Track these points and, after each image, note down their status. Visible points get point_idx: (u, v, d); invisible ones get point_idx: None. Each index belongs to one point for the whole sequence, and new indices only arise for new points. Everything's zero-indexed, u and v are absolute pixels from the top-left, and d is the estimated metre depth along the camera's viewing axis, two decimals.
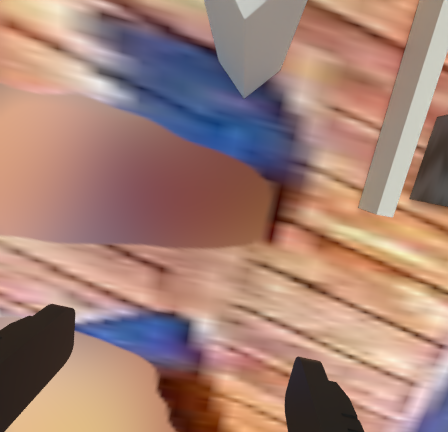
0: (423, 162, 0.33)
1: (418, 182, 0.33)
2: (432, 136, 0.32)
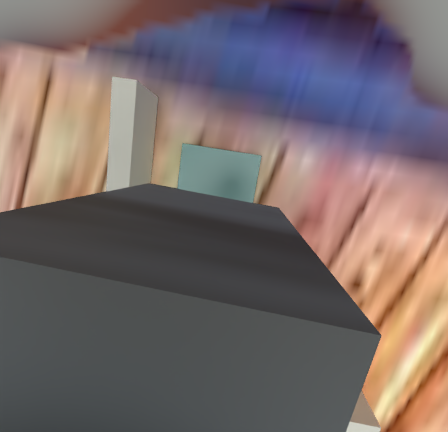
0: None
1: None
2: None
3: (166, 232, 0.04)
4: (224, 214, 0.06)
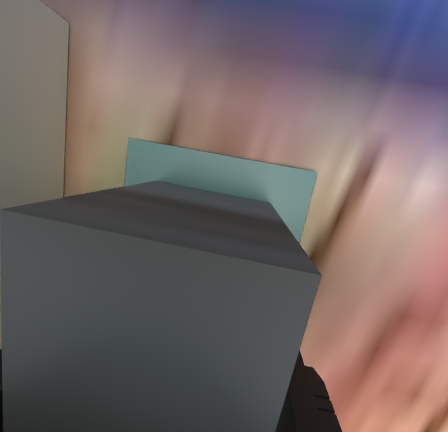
0: None
1: None
2: None
3: (177, 215, 0.05)
4: (222, 206, 0.08)
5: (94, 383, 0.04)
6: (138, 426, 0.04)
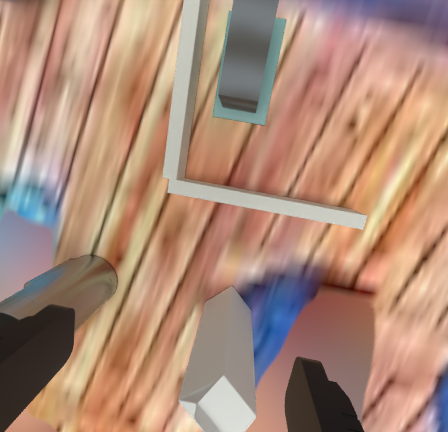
0: None
1: None
2: None
3: None
4: None
5: (245, 21, 0.28)
6: (251, 29, 0.28)
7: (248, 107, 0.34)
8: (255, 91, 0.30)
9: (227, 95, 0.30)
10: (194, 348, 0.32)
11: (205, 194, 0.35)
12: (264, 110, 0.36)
